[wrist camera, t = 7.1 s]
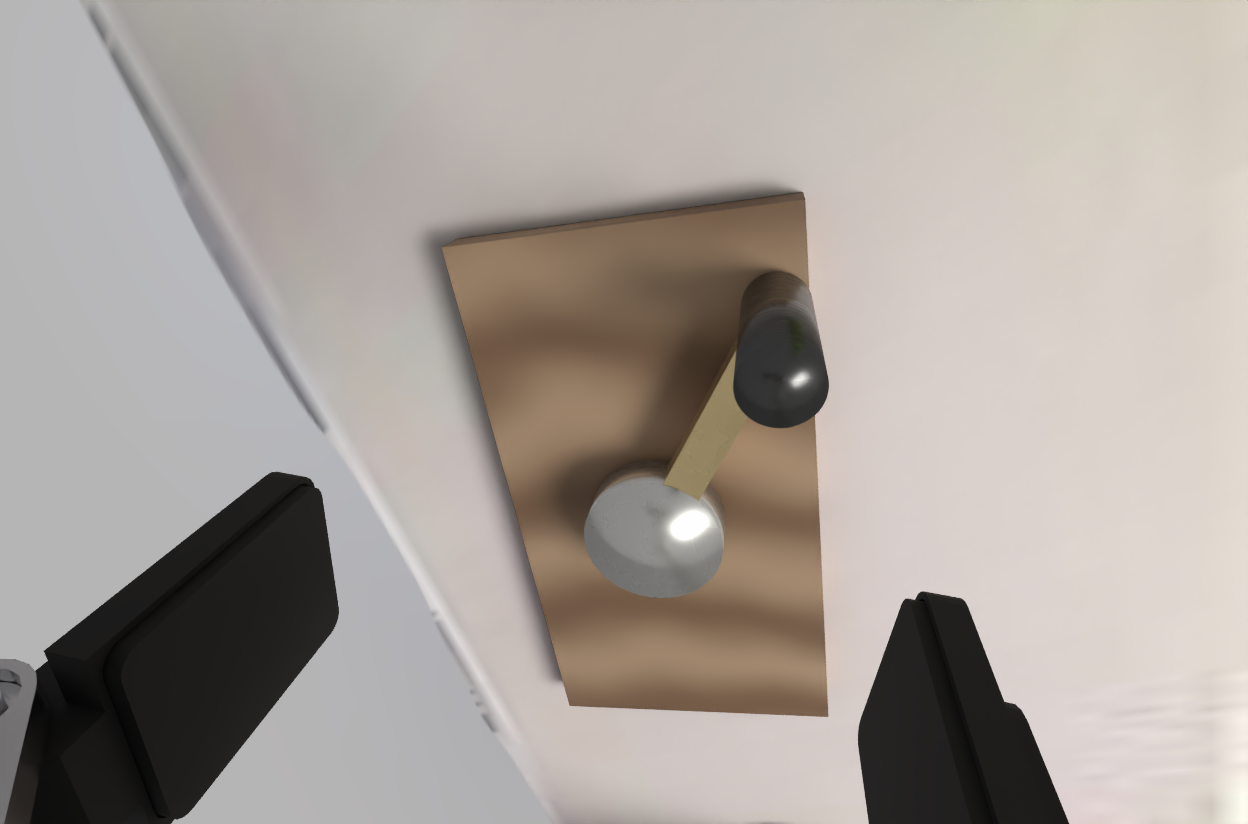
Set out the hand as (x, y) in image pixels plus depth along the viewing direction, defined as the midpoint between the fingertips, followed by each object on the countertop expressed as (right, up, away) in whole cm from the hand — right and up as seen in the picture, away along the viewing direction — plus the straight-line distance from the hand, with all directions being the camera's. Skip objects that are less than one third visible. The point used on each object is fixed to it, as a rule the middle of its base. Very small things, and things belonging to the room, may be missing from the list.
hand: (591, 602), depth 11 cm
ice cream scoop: (+4, +2, +17) cm, 18 cm away
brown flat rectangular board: (+2, -1, +21) cm, 21 cm away
